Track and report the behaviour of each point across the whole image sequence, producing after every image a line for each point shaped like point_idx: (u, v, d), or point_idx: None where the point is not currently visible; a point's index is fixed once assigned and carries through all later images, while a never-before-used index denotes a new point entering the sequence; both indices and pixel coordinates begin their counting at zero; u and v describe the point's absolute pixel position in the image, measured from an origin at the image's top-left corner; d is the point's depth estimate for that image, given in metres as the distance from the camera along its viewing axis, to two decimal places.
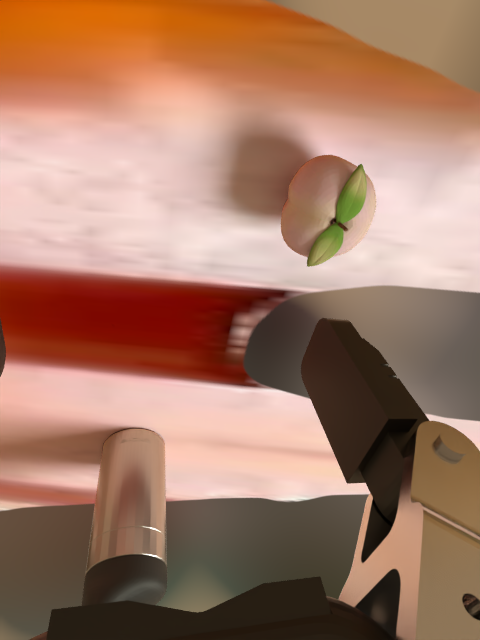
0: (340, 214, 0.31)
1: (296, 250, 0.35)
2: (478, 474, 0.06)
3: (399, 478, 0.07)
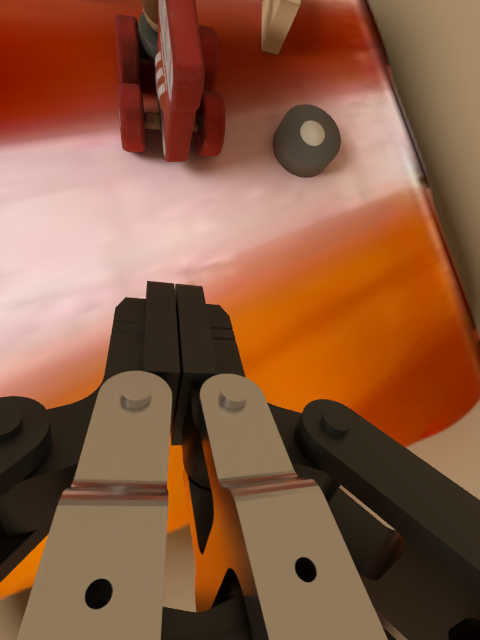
0: None
1: None
2: (249, 423, 0.06)
3: (190, 432, 0.07)
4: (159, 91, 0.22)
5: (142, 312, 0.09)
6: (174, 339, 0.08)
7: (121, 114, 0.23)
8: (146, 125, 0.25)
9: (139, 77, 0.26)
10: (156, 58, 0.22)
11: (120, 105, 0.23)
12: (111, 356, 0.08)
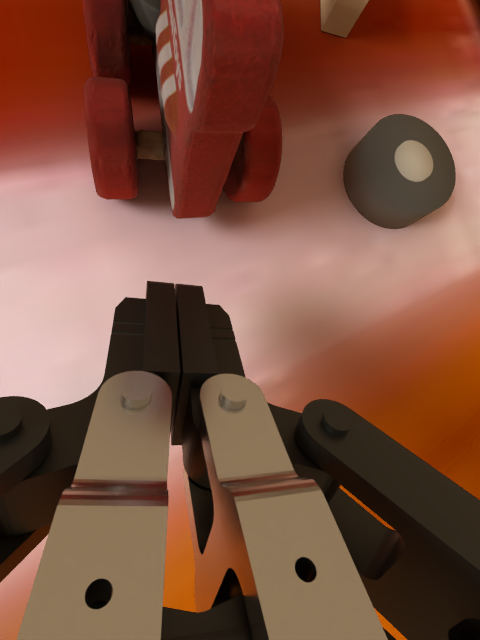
0: None
1: None
2: (249, 423, 0.06)
3: (190, 432, 0.07)
4: (164, 91, 0.11)
5: (142, 312, 0.09)
6: (174, 339, 0.08)
7: (90, 136, 0.12)
8: (140, 153, 0.14)
9: (128, 68, 0.15)
10: (158, 25, 0.11)
11: (88, 119, 0.12)
12: (111, 356, 0.08)
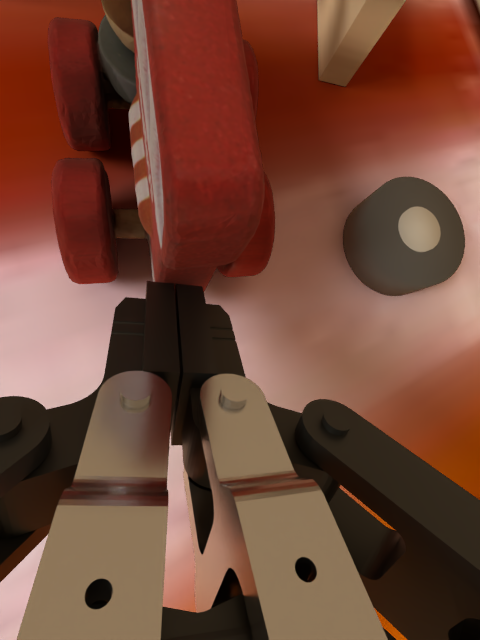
0: None
1: None
2: (249, 423, 0.06)
3: (190, 432, 0.07)
4: (137, 192, 0.10)
5: (142, 312, 0.09)
6: (174, 339, 0.08)
7: (58, 231, 0.11)
8: (118, 235, 0.13)
9: (105, 138, 0.13)
10: (130, 115, 0.10)
11: (55, 213, 0.11)
12: (111, 356, 0.08)
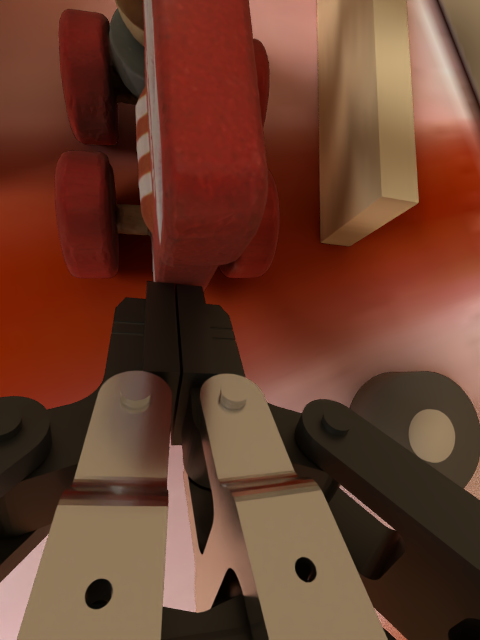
0: None
1: None
2: (249, 423, 0.06)
3: (190, 432, 0.07)
4: (140, 187, 0.09)
5: (142, 312, 0.09)
6: (174, 339, 0.08)
7: (59, 224, 0.11)
8: (121, 230, 0.13)
9: (112, 132, 0.13)
10: (137, 109, 0.10)
11: (57, 205, 0.11)
12: (111, 356, 0.08)
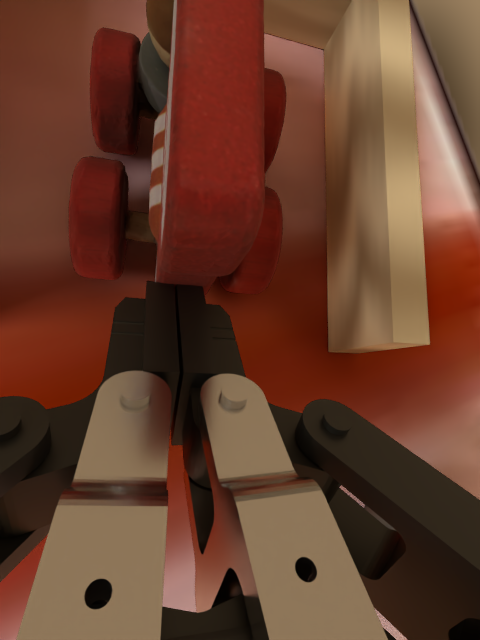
0: None
1: None
2: (249, 423, 0.06)
3: (191, 432, 0.07)
4: (150, 197, 0.10)
5: (142, 312, 0.09)
6: (174, 339, 0.08)
7: (70, 223, 0.11)
8: (128, 235, 0.13)
9: (132, 143, 0.14)
10: (156, 124, 0.10)
11: (71, 206, 0.11)
12: (111, 356, 0.08)
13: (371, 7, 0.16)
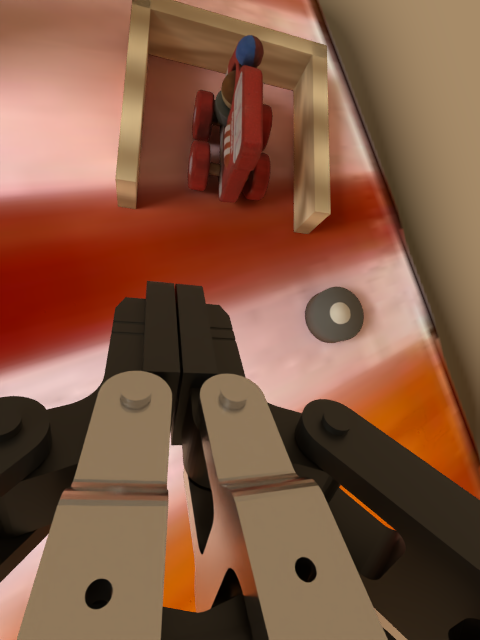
0: None
1: None
2: (249, 423, 0.06)
3: (190, 432, 0.07)
4: (225, 152, 0.30)
5: (142, 312, 0.09)
6: (174, 339, 0.08)
7: (193, 163, 0.31)
8: (209, 172, 0.33)
9: (209, 135, 0.34)
10: (226, 128, 0.30)
11: (194, 157, 0.31)
12: (111, 356, 0.08)
13: (310, 76, 0.35)
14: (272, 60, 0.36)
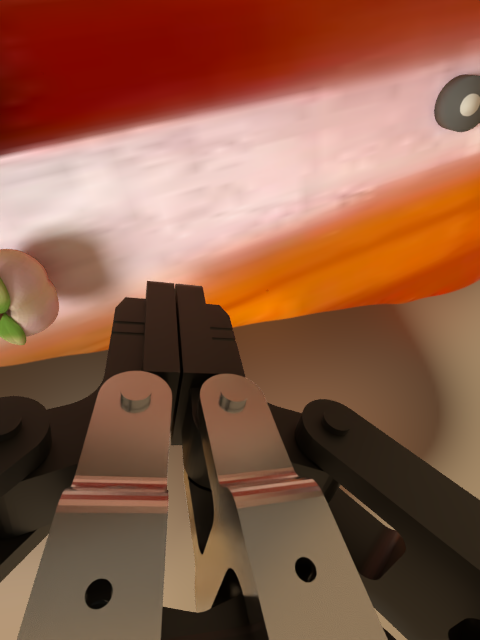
0: (9, 322, 0.36)
1: (11, 266, 0.35)
2: (249, 423, 0.06)
3: (190, 432, 0.07)
4: None
5: (142, 312, 0.09)
6: (174, 339, 0.08)
7: None
8: None
9: None
10: None
11: None
12: (111, 356, 0.08)
13: None
14: None
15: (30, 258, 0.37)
